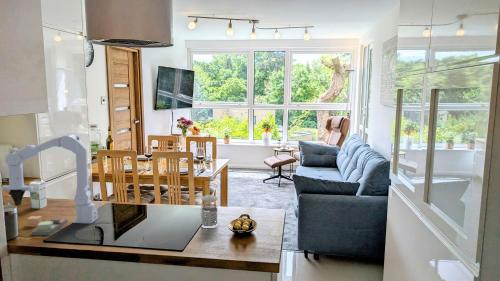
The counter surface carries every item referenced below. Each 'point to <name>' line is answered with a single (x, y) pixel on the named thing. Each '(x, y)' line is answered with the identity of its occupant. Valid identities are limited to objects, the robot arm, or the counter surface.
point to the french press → (209, 209)
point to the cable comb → (53, 228)
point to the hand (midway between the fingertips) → (18, 204)
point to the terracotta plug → (34, 221)
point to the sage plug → (45, 225)
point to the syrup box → (38, 194)
